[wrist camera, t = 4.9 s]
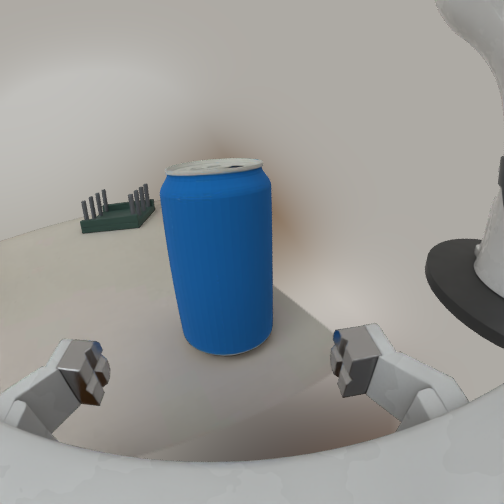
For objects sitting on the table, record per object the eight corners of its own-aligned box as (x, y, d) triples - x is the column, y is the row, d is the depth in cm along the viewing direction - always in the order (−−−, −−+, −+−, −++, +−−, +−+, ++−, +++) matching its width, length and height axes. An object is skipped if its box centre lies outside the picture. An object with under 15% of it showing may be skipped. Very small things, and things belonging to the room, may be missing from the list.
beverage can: (286, 349, 19) (290, 165, 14) (192, 372, 17) (158, 178, 12) (255, 301, 25) (249, 155, 20) (180, 316, 23) (156, 165, 18)
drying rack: (155, 209, 55) (151, 182, 53) (139, 227, 45) (134, 195, 43) (105, 215, 54) (101, 189, 52) (82, 233, 44) (76, 203, 42)
